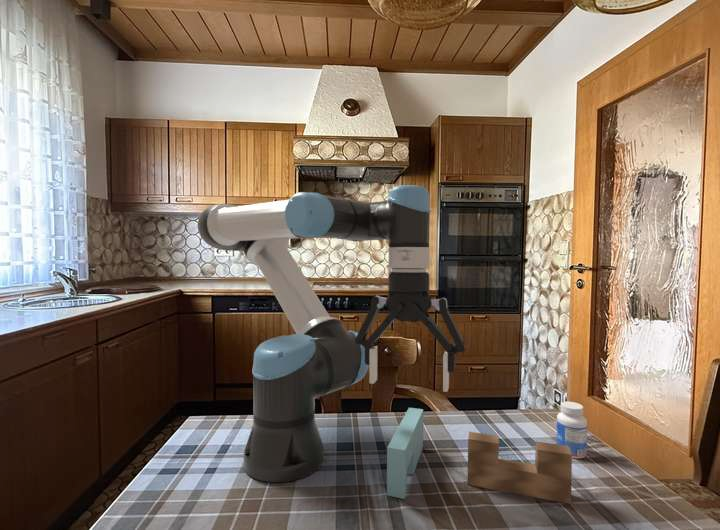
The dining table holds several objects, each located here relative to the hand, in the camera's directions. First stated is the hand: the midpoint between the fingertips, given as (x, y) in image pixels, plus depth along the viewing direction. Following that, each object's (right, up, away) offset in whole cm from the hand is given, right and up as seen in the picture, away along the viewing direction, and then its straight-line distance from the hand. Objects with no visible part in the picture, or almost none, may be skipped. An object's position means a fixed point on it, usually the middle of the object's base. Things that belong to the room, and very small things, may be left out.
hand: (408, 385), depth 71 cm
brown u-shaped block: (+18, -16, -6) cm, 24 cm away
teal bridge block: (0, -16, 0) cm, 16 cm away
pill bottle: (+34, -16, +7) cm, 38 cm away
